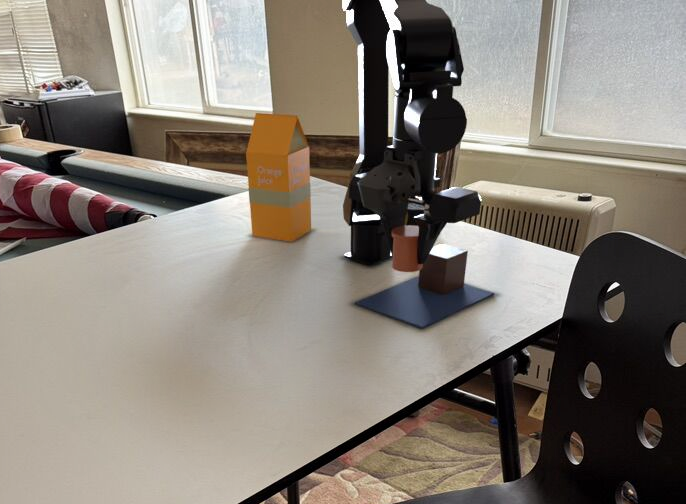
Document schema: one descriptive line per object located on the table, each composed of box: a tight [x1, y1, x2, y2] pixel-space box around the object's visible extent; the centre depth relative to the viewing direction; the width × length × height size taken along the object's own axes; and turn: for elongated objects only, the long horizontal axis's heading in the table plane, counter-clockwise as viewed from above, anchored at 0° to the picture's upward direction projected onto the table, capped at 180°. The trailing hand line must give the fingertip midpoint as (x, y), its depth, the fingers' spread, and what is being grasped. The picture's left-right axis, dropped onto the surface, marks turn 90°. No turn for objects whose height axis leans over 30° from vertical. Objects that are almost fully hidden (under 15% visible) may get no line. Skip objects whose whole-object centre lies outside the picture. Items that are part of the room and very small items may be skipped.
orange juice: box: [245, 112, 312, 243], centre depth 126 cm, size 8×9×20 cm
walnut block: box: [418, 243, 469, 295], centre depth 106 cm, size 5×5×6 cm
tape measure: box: [405, 202, 425, 226], centre depth 132 cm, size 7×7×4 cm
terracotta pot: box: [391, 225, 423, 273], centre depth 97 cm, size 5×5×5 cm
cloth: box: [354, 275, 495, 330], centre depth 104 cm, size 13×17×1 cm
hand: (407, 259), depth 98 cm, fingers closed on terracotta pot, 4 cm apart
